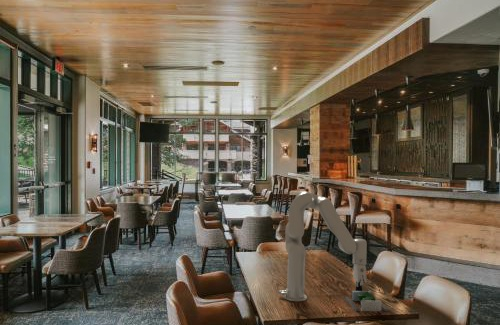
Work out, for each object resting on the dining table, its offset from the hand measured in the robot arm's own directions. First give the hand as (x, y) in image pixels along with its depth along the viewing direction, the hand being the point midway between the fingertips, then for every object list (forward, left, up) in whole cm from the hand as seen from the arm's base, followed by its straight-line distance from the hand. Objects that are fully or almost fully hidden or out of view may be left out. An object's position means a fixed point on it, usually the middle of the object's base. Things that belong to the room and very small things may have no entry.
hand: (358, 293), depth 232 cm
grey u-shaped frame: (0, -12, -3) cm, 13 cm away
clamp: (+1, -12, -3) cm, 13 cm away
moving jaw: (0, -5, -2) cm, 5 cm away
